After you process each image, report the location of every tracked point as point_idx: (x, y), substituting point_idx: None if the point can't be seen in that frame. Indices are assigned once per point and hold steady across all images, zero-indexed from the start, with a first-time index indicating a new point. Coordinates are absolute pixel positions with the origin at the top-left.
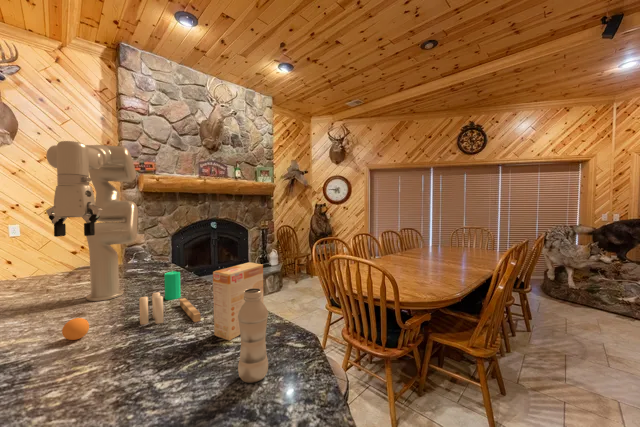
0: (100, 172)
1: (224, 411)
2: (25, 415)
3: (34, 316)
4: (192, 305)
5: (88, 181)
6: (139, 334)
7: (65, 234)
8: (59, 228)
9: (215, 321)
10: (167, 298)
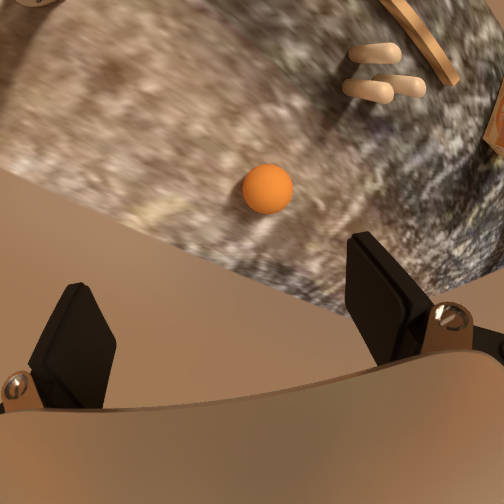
0: None
1: (496, 263)
2: None
3: (21, 126)
4: (425, 26)
5: None
6: (377, 142)
7: (83, 288)
8: (95, 373)
9: (501, 148)
10: None
